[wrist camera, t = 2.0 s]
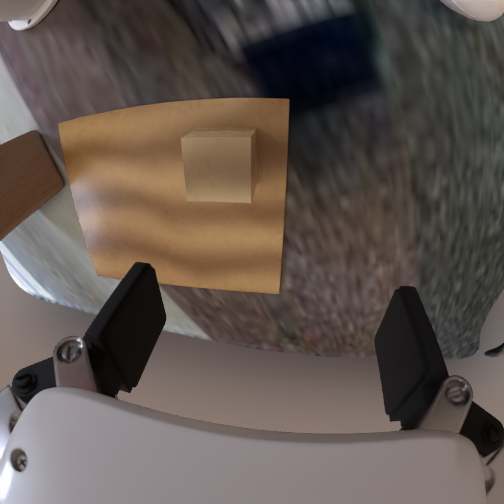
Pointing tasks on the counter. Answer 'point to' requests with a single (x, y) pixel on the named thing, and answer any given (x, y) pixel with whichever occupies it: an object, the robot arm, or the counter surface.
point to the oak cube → (220, 164)
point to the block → (25, 179)
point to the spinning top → (477, 8)
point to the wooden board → (177, 194)
